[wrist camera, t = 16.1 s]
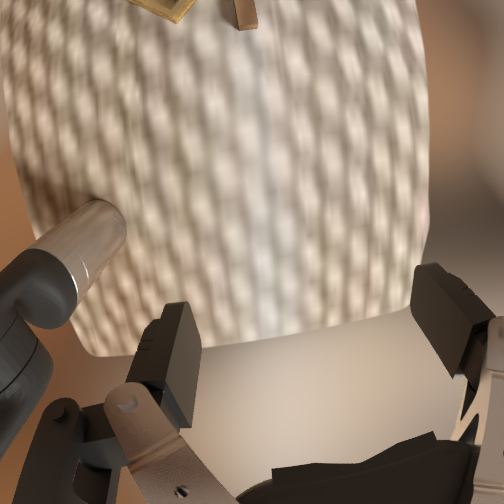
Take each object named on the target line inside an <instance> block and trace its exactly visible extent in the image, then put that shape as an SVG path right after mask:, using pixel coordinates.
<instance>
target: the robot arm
mask: <svg viewBox="0 0 504 504" xmlns="http://www.w3.org/2000/svg"><path fill="white" fill-rule="evenodd" d="M125 237H126V225H125V222H124V219H123V217H122V215H121V214H120V212H119V211H118V210H117V209H116V208H115V207H114V206H113V205H111V204H110V203H108V202H106V201H102V200H92V201H89V202H87V203H85V204H84V205H82V206H81V207H80V208H78V209H77V210H75V211H74V212H72V213H71V214H70V215H68V216H67V217H66V218H64V219H63V220H62V221H60V222H59V223H58V224H56V225H55V226H54V227H53V228H51V229H50V230H49V231H47V232H46V233H45V234H44V235H42V236H41V237H40V238H39V239H38V240H36V241H35V242H34V243H33V244H32V245H30V246H29V247H28V248H27V249H26V250H24V251H23V252H22V253H21V254H19V255H18V256H17V257H16V258H15V259H14V260H13V261H12V262H11V263H10V264H9V265H7V266H6V267H5V268H4V269H3V270H2V271H1V272H0V460H1V459H2V457H3V456H4V454H5V452H6V451H7V449H8V448H9V446H10V445H11V443H12V442H13V440H14V439H15V437H16V435H17V434H18V433H19V431H20V430H21V428H22V427H23V425H24V424H25V422H26V421H27V419H28V418H29V416H30V415H31V413H32V412H33V410H34V409H35V407H36V406H37V404H38V403H39V401H40V399H41V398H42V396H43V394H44V392H45V390H46V389H47V387H48V385H49V382H50V380H51V377H52V373H53V360H52V358H51V356H50V354H49V352H48V351H47V350H46V348H45V347H44V346H43V344H42V343H41V342H40V341H39V339H38V338H37V337H36V335H35V334H34V333H33V331H32V330H31V329H30V327H29V326H28V325H27V323H26V322H25V321H24V320H26V321H27V322H29V323H30V324H32V325H34V326H37V327H40V328H43V329H55V328H58V327H60V326H62V325H63V324H65V323H66V322H67V320H68V319H69V318H70V316H71V315H72V313H73V312H74V310H75V309H76V308H77V306H78V305H79V303H80V302H81V300H82V299H83V298H84V296H85V295H86V293H87V292H88V290H89V289H90V288H91V286H92V285H93V283H94V282H95V281H96V279H97V278H98V277H99V275H100V274H101V273H102V271H103V270H104V269H105V267H106V266H107V265H108V263H109V262H110V261H111V259H112V258H113V257H114V255H115V254H116V253H117V251H118V250H119V249H120V248H121V246H122V245H123V243H124V241H125ZM410 307H411V312H412V315H413V317H414V319H415V321H416V322H417V324H418V325H419V327H420V328H421V329H422V331H423V333H424V334H425V336H426V337H427V339H428V340H429V341H430V343H431V345H432V347H433V348H434V350H435V351H436V353H437V354H438V356H439V358H440V359H441V361H442V363H443V364H444V366H445V367H446V369H447V371H448V372H449V374H450V376H451V377H452V379H456V378H458V377H461V376H463V375H465V376H466V378H467V380H466V382H465V384H464V389H463V394H462V399H461V404H460V408H459V413H458V417H457V422H456V425H455V429H454V432H453V434H452V436H451V438H450V440H437V439H436V437H435V435H434V432H433V431H431V432H429V433H426V434H423V435H420V436H418V437H415V438H412V439H409V440H406V441H403V442H400V443H397V444H395V445H394V446H392V447H390V448H388V449H386V450H385V451H383V452H381V453H379V454H377V455H375V456H374V457H372V458H370V459H368V460H366V461H364V462H361V463H356V464H331V463H330V464H328V463H327V464H326V463H311V464H306V465H298V466H291V467H284V468H275V469H272V479H269V480H266V481H263V482H262V483H259V484H257V485H254V486H253V487H251V488H249V489H247V490H246V491H244V492H243V493H241V494H240V495H238V496H237V497H236V498H234V497H233V496H232V495H231V494H230V493H229V492H228V491H227V490H226V489H225V488H224V486H223V485H222V484H221V483H220V482H219V481H218V480H217V479H216V478H215V476H214V475H213V474H212V473H211V472H210V471H209V469H208V468H207V467H206V466H205V465H204V464H203V462H202V461H201V460H200V459H199V458H198V456H197V455H196V454H195V453H194V451H193V450H192V449H191V448H190V446H189V445H188V444H187V442H186V441H185V440H184V439H183V437H182V436H181V435H179V432H180V428H191V427H192V419H193V412H194V403H195V396H196V389H197V381H198V374H199V367H200V359H201V351H202V347H201V339H200V335H199V332H198V329H197V326H196V323H195V320H194V317H193V314H192V311H191V307H190V305H189V303H188V302H187V301H185V302H177V303H168V304H166V305H165V306H164V309H163V312H162V315H161V318H160V319H154V320H153V321H152V322H151V323H150V324H149V325H148V326H147V327H146V328H145V329H144V332H143V335H142V337H141V340H140V341H141V342H140V343H139V345H138V348H137V351H136V353H135V356H134V360H133V362H132V365H131V368H130V370H129V373H128V376H127V379H126V382H125V383H124V384H121V385H119V386H117V387H115V388H114V389H112V390H111V391H110V392H109V393H108V395H107V396H106V398H105V401H104V403H101V404H97V405H92V406H88V407H84V408H81V407H80V406H79V405H78V404H77V402H75V400H73V399H71V398H60V399H57V400H55V401H53V402H52V403H50V404H49V405H48V406H47V407H46V409H45V410H44V412H43V414H42V417H41V419H40V422H39V424H38V427H37V429H36V432H35V435H34V437H33V440H32V443H31V445H30V448H29V451H28V454H27V457H26V460H25V462H24V466H23V469H22V472H21V475H20V478H19V481H18V485H17V488H16V491H15V495H14V498H13V502H12V504H115V503H116V496H117V490H118V489H117V488H118V483H119V477H120V470H121V467H124V466H127V467H128V469H129V472H130V473H131V475H132V477H133V479H134V481H135V482H136V484H137V486H138V487H139V489H140V491H141V492H142V494H143V496H144V498H145V499H146V501H147V502H148V504H504V316H498V317H496V316H495V315H494V313H493V312H492V311H491V310H490V309H489V308H488V307H487V306H486V305H485V304H484V303H483V302H482V300H481V299H480V298H479V297H478V296H477V295H475V293H474V292H473V291H472V290H471V289H470V288H468V286H467V285H466V284H465V283H464V282H463V281H462V280H461V279H460V278H458V277H456V276H454V275H452V274H451V273H447V272H446V271H445V270H444V269H443V268H442V267H441V266H440V265H439V264H438V263H436V262H432V263H427V264H422V265H417V266H416V268H415V270H414V278H413V286H412V293H411V300H410ZM77 463H78V464H77ZM76 467H77V468H76ZM75 471H76V472H75ZM74 475H75V476H74ZM73 479H74V481H73Z"/></svg>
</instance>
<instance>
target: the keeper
mask: <svg viewBox="0 0 504 504" xmlns="http://www.w3.org/2000/svg"><path fill="white" fill-rule="evenodd" d="M127 1H129V2H132V3H134V4H136V5H138V6H141V7H143V8H145V9H147V10H149V11H151V12H153V13H156V14H158V15H160V16H162V17H164V18H166V19H168V20H170V21H172V22H174V23H175V24H177V23H178V22H179V21H180V20H181V19H182V17H183V16H184V15H185V14H186V12H187V11H188V10H189V9H190V8H191V7H192V5H193V4H194V3H195V2H196V1H197V0H176V1H175V3H174V2H171V1H169V0H127Z"/></svg>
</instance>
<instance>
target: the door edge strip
mask: <svg viewBox="0 0 504 504" xmlns="http://www.w3.org/2000/svg"><path fill="white" fill-rule="evenodd" d="M234 5H235V11H236V16H237V22H238V27H239V31H242V30H249V29H257V27H258V19H257V14H256V8H255V3H254V0H234Z"/></svg>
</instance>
